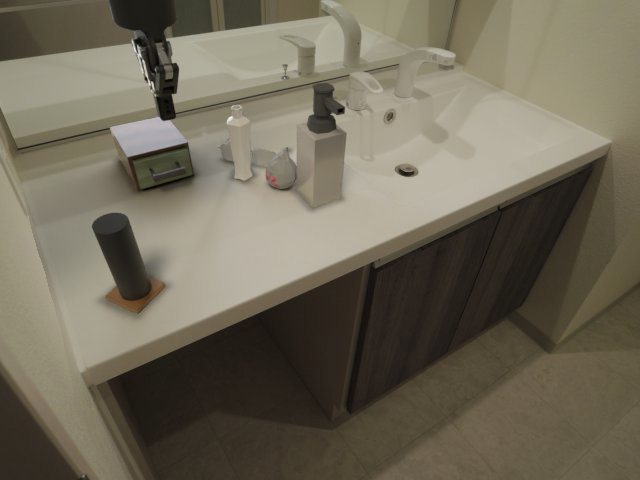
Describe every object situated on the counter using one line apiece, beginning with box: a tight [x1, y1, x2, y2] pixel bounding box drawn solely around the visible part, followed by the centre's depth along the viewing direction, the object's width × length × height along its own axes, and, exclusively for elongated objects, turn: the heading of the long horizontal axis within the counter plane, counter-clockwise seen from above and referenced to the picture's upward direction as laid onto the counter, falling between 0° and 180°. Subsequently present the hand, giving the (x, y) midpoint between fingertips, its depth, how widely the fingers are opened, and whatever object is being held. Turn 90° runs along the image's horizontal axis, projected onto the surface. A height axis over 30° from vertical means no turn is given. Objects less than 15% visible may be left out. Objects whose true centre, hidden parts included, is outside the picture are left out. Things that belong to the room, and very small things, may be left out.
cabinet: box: [109, 116, 195, 192], centre depth 86 cm, size 14×12×8 cm
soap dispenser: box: [295, 82, 348, 209], centre depth 75 cm, size 6×9×22 cm
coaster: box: [104, 275, 166, 315], centre depth 63 cm, size 6×6×1 cm
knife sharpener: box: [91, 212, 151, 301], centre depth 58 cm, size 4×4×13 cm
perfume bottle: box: [225, 104, 254, 181], centre depth 83 cm, size 5×4×15 cm
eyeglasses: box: [217, 138, 289, 168], centre depth 93 cm, size 14×8×4 cm, turn 77°
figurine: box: [264, 149, 297, 190], centre depth 83 cm, size 6×7×8 cm
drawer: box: [132, 147, 194, 190], centre depth 84 cm, size 17×10×6 cm, turn 33°
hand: (167, 118), depth 60 cm, fingers closed
